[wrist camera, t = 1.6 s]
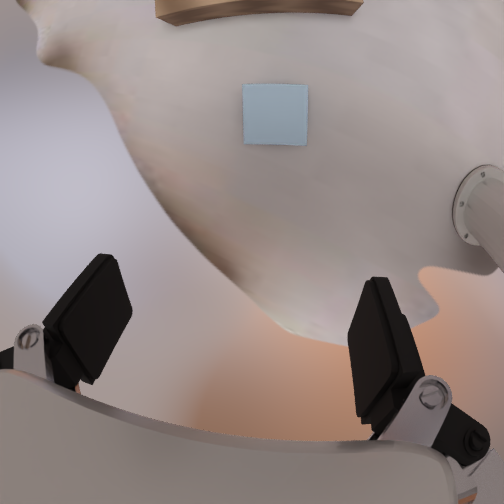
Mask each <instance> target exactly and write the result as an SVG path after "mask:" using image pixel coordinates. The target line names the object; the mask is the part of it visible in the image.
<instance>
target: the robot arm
mask: <svg viewBox="0 0 504 504" xmlns="http://www.w3.org/2000/svg"><path fill="white" fill-rule="evenodd" d="M453 221H454V226H455V229H456V231H457V233H458V234H459V236H460V237H461V238H462V239H463V240H464V241H465V242H466V243H468V244H470V245H475V246H480V245H481V246H482V247H483V248H484V249H485V251H486V252H487V253H488V254H489V255H490V257H491V258H492V259H493V260H494V261H495V263H496V264H497V265H498V266H499V268H500V269H501V270H502V272H503V273H504V172H503V171H502V170H501V169H499V168H497V167H495V166H492V165H485V166H481V167H479V168H477V169H475V170H474V171H472V172H471V173H470V174H469V175H468V176H467V177H466V178H465V180H464V181H463V183H462V184H461V186H460V187H459V190H458V192H457V194H456V198H455V201H454V207H453ZM131 316H132V306H131V303H130V300H129V298H128V295H127V291H126V288H125V285H124V282H123V279H122V275H121V272H120V269H119V266H118V262H117V260H116V259H114V257H113V256H112V255H110V254H98V255H97V256H96V257H95V258H94V259H93V260H92V261H91V263H90V264H89V265H88V266H87V267H86V268H85V269H84V271H83V272H82V273H81V274H80V275H79V276H78V277H77V279H76V280H75V281H74V282H73V283H72V285H71V286H70V287H69V288H68V289H67V291H66V292H65V293H64V294H63V296H62V297H61V298H60V299H59V301H58V302H57V303H56V305H55V306H54V307H53V308H52V310H51V311H50V312H49V314H48V315H47V316H46V318H45V319H44V320H43V322H42V323H43V324H44V326H45V328H44V329H42V328H41V327H40V326H38V325H34V324H32V325H28V326H26V327H24V328H23V329H22V330H20V332H19V333H18V334H17V336H16V338H15V342H14V346H13V347H11V348H9V349H6V350H4V351H1V352H0V504H504V462H503V460H502V459H501V457H500V456H499V455H498V453H497V452H496V450H495V449H494V448H493V449H492V450H490V448H489V447H490V436H489V433H488V431H487V429H486V428H485V427H484V426H483V425H482V424H480V423H479V422H477V421H476V420H474V419H473V418H472V417H470V416H469V415H467V414H466V413H465V412H463V411H462V410H460V409H459V408H457V407H456V406H454V405H453V404H452V403H451V402H452V392H451V389H450V387H449V385H448V384H447V383H446V382H445V381H444V380H443V379H441V378H439V377H437V376H433V375H429V376H425V373H424V370H423V366H422V363H421V360H420V356H419V353H418V350H417V347H416V344H415V341H414V338H413V335H412V332H411V329H410V326H409V323H408V321H407V318H406V316H405V315H404V314H402V313H401V310H400V308H399V305H398V302H397V300H396V297H395V294H394V292H393V289H392V287H391V284H390V282H389V280H388V278H386V277H372V278H371V279H370V280H367V281H366V282H365V285H364V288H363V291H362V294H361V297H360V300H359V303H358V306H357V309H356V312H355V314H354V317H353V320H352V323H351V325H350V328H349V331H348V346H349V353H350V361H351V368H352V377H353V385H354V395H355V405H356V414H357V417H361V424H371V428H372V431H373V433H372V434H371V435H370V437H369V438H368V439H367V440H364V441H293V440H275V439H262V438H252V437H244V436H236V435H229V434H221V433H216V432H210V431H204V430H198V429H193V428H189V427H184V426H180V425H175V424H171V423H167V422H163V421H159V420H155V419H152V418H148V417H144V416H141V415H138V414H134V413H131V412H128V411H125V410H122V409H119V408H116V407H113V406H110V405H107V404H104V403H102V402H99V401H96V400H94V399H91V398H88V397H86V396H83V395H81V392H80V388H79V381H80V379H81V380H82V381H83V382H85V383H88V384H91V385H93V383H94V381H95V379H98V378H99V376H100V375H101V372H102V370H103V369H104V367H105V365H106V363H107V361H108V359H109V357H110V355H111V353H112V351H113V349H114V347H115V345H116V344H117V342H118V340H119V338H120V336H121V334H122V333H123V331H124V329H125V327H126V325H127V324H128V322H129V320H130V318H131Z"/></svg>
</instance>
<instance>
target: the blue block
mask: <svg viewBox="0 0 504 504" xmlns="http://www.w3.org/2000/svg"><path fill="white" fill-rule="evenodd" d="M242 94H243V130H244V144H273V145H300V146H307V122H308V85H297V84H242Z"/></svg>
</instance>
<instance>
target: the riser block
mask: <svg viewBox="0 0 504 504" xmlns="http://www.w3.org/2000/svg"><path fill="white" fill-rule="evenodd" d="M363 3H364V2H363V0H155V11H156V18H159V19H161V20H163V21H165V22H168V23H170V24H172V25H174V26H179V25H184V24H188V23H193V22H198V21H204V20H209V19H215V18H222V17H230V16H238V15H248V14H261V13H285V12H303V13H327V14H339V15H349V16H352V15H353V14H354V13H355V12H356V10H357V9H358V8H359V7H360V6H361V5H362V4H363Z"/></svg>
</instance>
